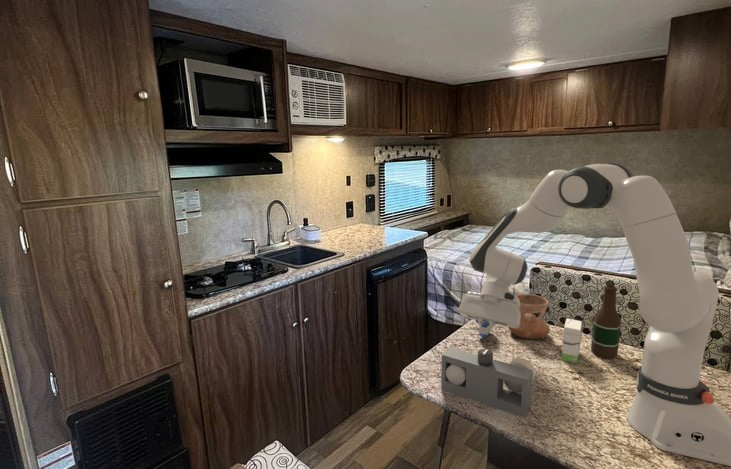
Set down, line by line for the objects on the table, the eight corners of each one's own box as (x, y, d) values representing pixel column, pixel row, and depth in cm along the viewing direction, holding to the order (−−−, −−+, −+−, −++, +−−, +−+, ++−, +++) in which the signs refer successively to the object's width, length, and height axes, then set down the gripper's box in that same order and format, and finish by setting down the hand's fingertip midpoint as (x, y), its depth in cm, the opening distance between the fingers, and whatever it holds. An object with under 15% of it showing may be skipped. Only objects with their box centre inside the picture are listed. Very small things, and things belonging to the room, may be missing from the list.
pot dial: (494, 361, 108) (495, 350, 108) (489, 367, 105) (490, 356, 104) (480, 357, 111) (480, 346, 110) (475, 363, 107) (475, 352, 107)
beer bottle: (617, 351, 134) (624, 284, 129) (617, 361, 127) (625, 292, 122) (591, 346, 138) (597, 281, 133) (589, 355, 131) (596, 288, 126)
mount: (530, 407, 106) (532, 370, 103) (525, 418, 101) (527, 380, 99) (448, 380, 119) (449, 346, 117) (441, 388, 115) (441, 354, 113)
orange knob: (476, 377, 116) (477, 355, 114) (466, 390, 109) (467, 367, 108) (453, 370, 120) (454, 348, 119) (443, 382, 114) (443, 360, 112)
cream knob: (534, 384, 112) (536, 361, 110) (527, 399, 105) (529, 375, 104) (508, 377, 116) (510, 355, 114) (500, 390, 109) (501, 367, 108)
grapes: (478, 327, 155) (479, 298, 153) (495, 330, 151) (497, 301, 149) (469, 338, 145) (470, 308, 143) (487, 343, 142) (488, 312, 139)
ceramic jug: (547, 348, 137) (551, 309, 134) (504, 339, 143) (507, 303, 141) (549, 328, 153) (552, 294, 150) (510, 322, 159) (512, 288, 157)
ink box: (578, 364, 126) (581, 330, 124) (561, 360, 129) (563, 327, 127) (579, 352, 134) (582, 320, 131) (563, 349, 136) (566, 317, 134)
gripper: (462, 286, 139) (451, 322, 133) (522, 297, 127) (512, 337, 121) (466, 294, 143) (455, 329, 137) (525, 306, 131) (516, 344, 126)
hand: (483, 333), depth 129 cm, fingers closed
